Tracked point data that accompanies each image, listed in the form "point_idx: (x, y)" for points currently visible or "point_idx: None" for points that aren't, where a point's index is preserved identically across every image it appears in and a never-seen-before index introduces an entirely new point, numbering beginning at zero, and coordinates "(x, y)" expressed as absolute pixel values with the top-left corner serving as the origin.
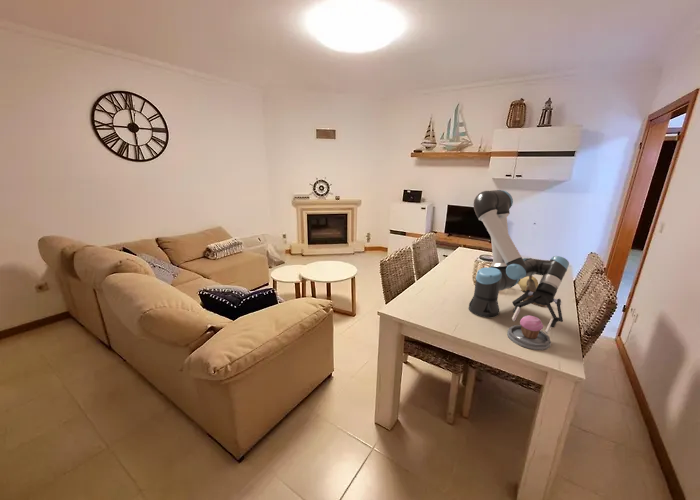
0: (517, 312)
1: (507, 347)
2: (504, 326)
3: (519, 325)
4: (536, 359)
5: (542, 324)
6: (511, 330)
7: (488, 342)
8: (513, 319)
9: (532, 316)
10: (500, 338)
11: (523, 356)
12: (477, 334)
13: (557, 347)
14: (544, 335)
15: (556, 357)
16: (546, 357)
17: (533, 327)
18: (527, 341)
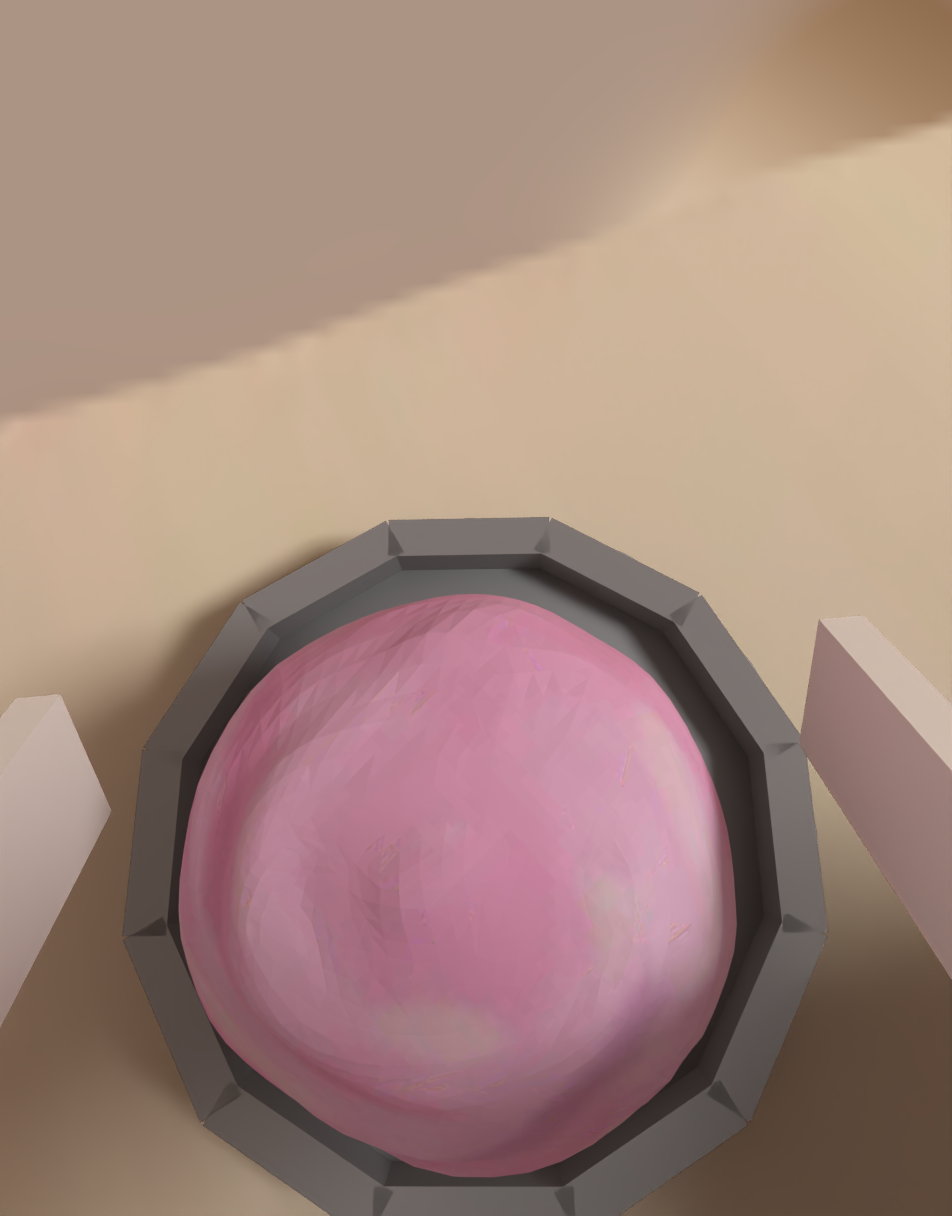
0: (945, 824)
1: (526, 358)
2: None
3: (765, 1041)
4: (175, 415)
5: (188, 935)
6: (721, 687)
7: (730, 261)
8: (822, 649)
9: (486, 945)
10: (713, 477)
11: (304, 345)
12: (944, 303)
13: (69, 1002)
14: (288, 1108)
15: (8, 683)
16: (103, 565)
17: (316, 640)
18: None
